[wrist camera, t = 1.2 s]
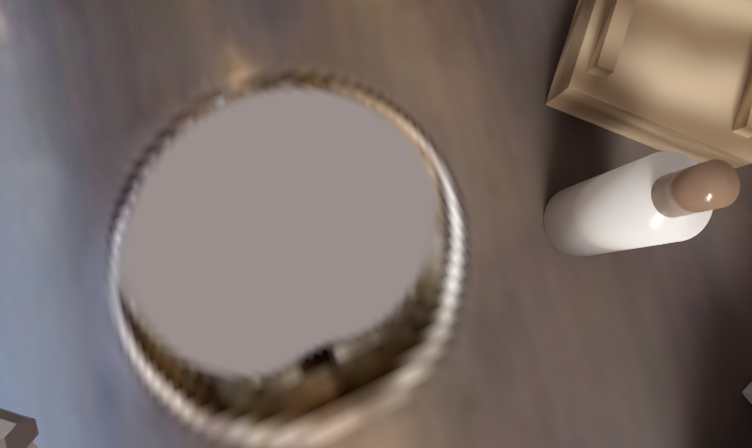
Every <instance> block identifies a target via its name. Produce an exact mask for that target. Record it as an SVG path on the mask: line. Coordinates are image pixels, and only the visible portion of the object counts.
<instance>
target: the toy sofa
mask: <svg viewBox="0 0 752 448" xmlns="http://www.w3.org/2000/svg"><path fill="white" fill-rule="evenodd" d="M545 105H547V106H550V107H552V108H555V109H557V110H560V111H562V112H565V113H567V114H570V115H572V116H575V117H577V118H580V119H582V120H585V121H587V122H590V123H592V124H595V125H597V126H600V127H602V128H605V129H607V130H610V131H612V132H615V133H617V134H620V135H622V136H625V137H627V138H630V139H632V140H635V141H637V142H640V143H642V144H645V145H647V146H650V147H652V148H655V149H657V150H660V151H675V152H679V153H683V154H685V155H687V156H689V157H691V158H692V159H694V160H695V161H696V162H697V163H698V164H699V163H703V162H706V161H709V160H713V159H718V160H723V161H725V162H727V163H729V164H730V165H731V166H732V167H733V168H737V167H741V166H744V165H747V164H751V163H752V0H579V1H578V4H577V7H576V10H575V14H574V17H573V20H572V23H571V26H570V29H569V32H568V35H567V38H566V41H565V45H564V48H563V51H562V54H561V57H560V60H559V63H558V66H557V69H556V73H555V76H554V79H553V82H552V85H551V88H550V91H549V94H548V97H547V100H546V104H545Z"/></svg>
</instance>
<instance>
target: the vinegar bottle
mask: <svg viewBox="0 0 752 448" xmlns="http://www.w3.org/2000/svg"><path fill="white" fill-rule="evenodd" d="M739 191H740V180H739V177H738V174H737V172H736V171H735V169H734V168H733V167H732V166H731V165H730V164H729V163H727V162H725V161H723V160H718V159H713V160H709V161H706V162H703V163H699V164H698V163H697V162H696V161H695V160H694V159H692V158H691V157H689V156H687V155H685V154H683V153H679V152H675V151H661V152H657V153H654V154H651V155H649V156H646V157H644V158H641V159H639V160H636V161H634V162H631V163H628V164H626V165H623V166H621V167H618V168H616V169H613V170H611V171H608V172H606V173H603V174H601V175H598V176H596V177H593V178H590V179H588V180H585V181H583V182H580V183H578V184H575V185H573V186H570V187H568V188H565V189H563V190H561V191H559V192H557V193H556V194H555V195H554V196H553V197H552V198H551V199H550V200H549V202H548V204H547V206H546V208H545V211H544V218H543V222H544V229H545V232H546V235H547V237H548V239H549V240H550V242H551V243H552V244H553V246H554V247H555V248H556V249H558V250H559V251H561V252H562V253H564V254H567V255H569V256H574V257H583V256H589V255H596V254H602V253H608V252H615V251H621V250H628V249H634V248H640V247H647V246H653V245H660V244H666V243H672V242H679V241H684V240H687V239H690V238H692V237H694V236H695V235H697V234H698V233H699V232H701V231H702V230H703V228H704V227H705V226H706V225H707V223H708V221H709V219H710V217H711V214H712V211H713V210H714V209H718V208H723V207H727V206H729V205H730V204H732V203H733V202H734V201H735V200H736V198H737V197H738V194H739Z"/></svg>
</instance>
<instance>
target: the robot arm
mask: <svg viewBox="0 0 752 448" xmlns="http://www.w3.org/2000/svg"><path fill="white" fill-rule="evenodd" d="M38 434H39V433H38V429H37V425H36V421H35V419H33V418H30V417H27V416H24V415H20V414H17V413H14V412H11V411H8V410H4V409H1V408H0V448H38V447H37V446H36V445H35V444H34V443H33V442H32V441H33V440H34V438H35V437H36V436H37V435H38Z"/></svg>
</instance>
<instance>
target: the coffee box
mask: <svg viewBox="0 0 752 448" xmlns="http://www.w3.org/2000/svg"><path fill="white" fill-rule="evenodd" d="M742 394H743V395H744V396H745V397H746V399H747V400H748V401H749V402H750V403H751V404H752V381H751V382H750V384H749V385H748V386H747V387H746V388H745V389H744V390H743V391H742Z"/></svg>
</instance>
